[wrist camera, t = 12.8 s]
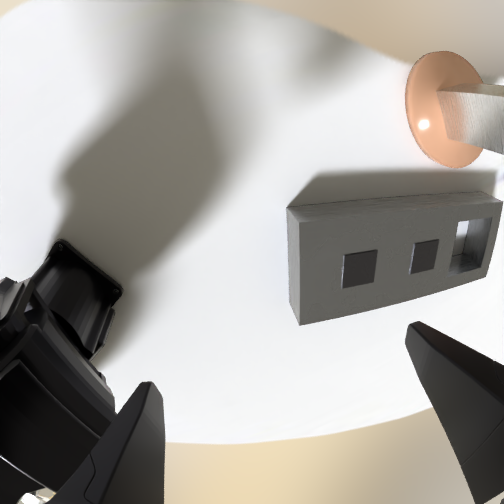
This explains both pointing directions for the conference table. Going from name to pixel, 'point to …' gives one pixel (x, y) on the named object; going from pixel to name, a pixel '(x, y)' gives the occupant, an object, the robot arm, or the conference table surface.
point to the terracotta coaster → (438, 106)
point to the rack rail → (384, 251)
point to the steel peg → (474, 114)
